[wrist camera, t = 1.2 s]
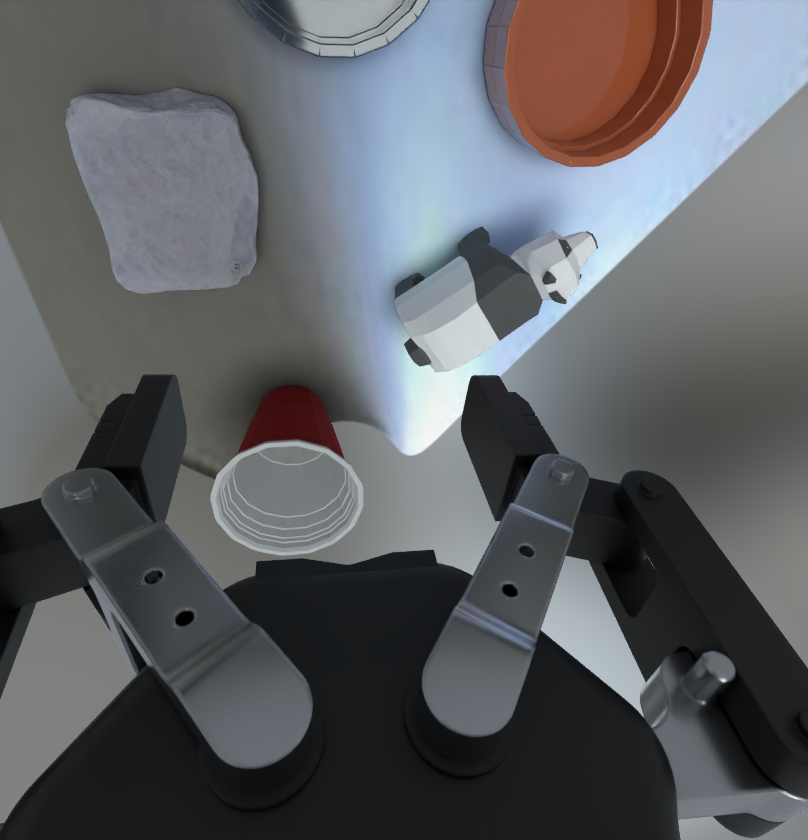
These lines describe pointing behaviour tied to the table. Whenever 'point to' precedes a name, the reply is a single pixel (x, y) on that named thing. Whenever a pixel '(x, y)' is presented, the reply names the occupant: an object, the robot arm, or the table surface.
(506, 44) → the terracotta bowl
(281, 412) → the plastic cup
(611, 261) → the table surface
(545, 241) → the giant panda
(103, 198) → the stone block
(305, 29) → the metal bowl
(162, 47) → the table surface
